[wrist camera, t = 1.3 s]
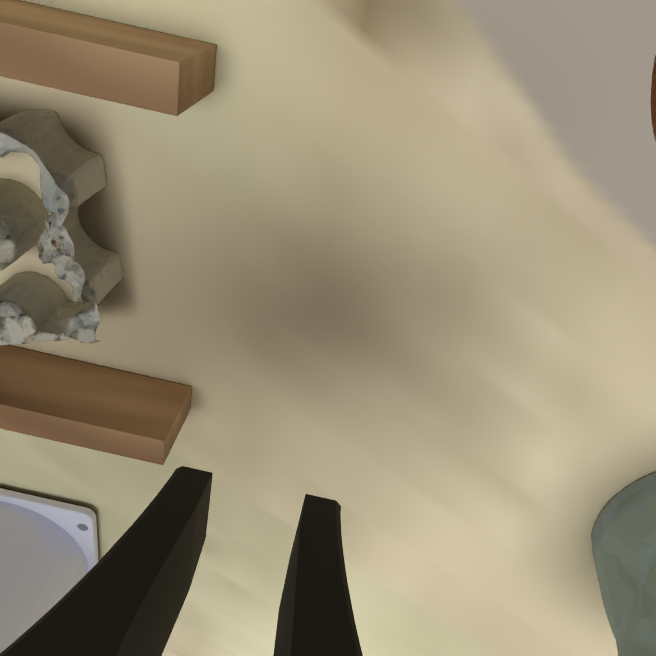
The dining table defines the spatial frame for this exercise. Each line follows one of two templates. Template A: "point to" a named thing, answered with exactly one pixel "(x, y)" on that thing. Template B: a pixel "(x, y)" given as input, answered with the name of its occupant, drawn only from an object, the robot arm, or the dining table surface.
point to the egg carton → (51, 235)
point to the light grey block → (653, 99)
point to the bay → (131, 89)
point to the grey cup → (629, 566)
